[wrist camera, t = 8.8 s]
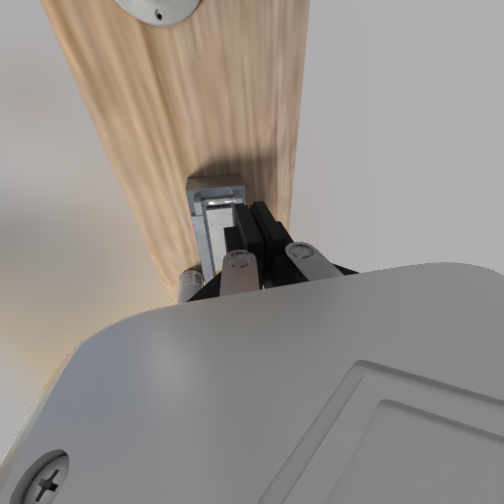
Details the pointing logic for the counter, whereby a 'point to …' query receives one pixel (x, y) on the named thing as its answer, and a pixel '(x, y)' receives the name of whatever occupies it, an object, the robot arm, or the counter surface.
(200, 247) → the grey piece
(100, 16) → the counter surface
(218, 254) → the grey bar
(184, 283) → the energy drink
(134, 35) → the counter surface
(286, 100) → the counter surface
